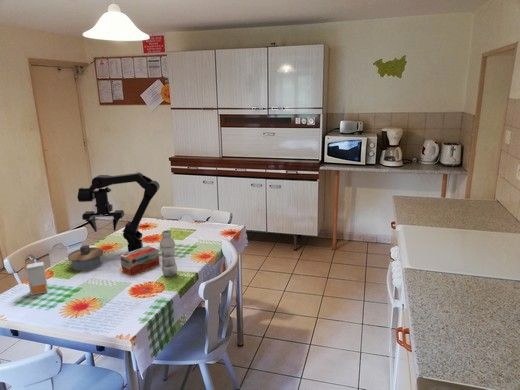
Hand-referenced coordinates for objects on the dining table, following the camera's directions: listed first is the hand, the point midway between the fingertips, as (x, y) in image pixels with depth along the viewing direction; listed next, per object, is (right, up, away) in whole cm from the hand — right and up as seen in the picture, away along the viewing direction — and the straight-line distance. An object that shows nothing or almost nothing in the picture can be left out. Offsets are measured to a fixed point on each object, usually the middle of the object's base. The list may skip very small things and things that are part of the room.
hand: (105, 231), depth 191 cm
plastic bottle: (+37, -17, -22) cm, 47 cm away
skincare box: (-13, -22, -35) cm, 43 cm away
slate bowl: (-5, -15, -10) cm, 19 cm away
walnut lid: (-5, -10, -11) cm, 16 cm away
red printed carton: (+22, -16, -14) cm, 31 cm away
